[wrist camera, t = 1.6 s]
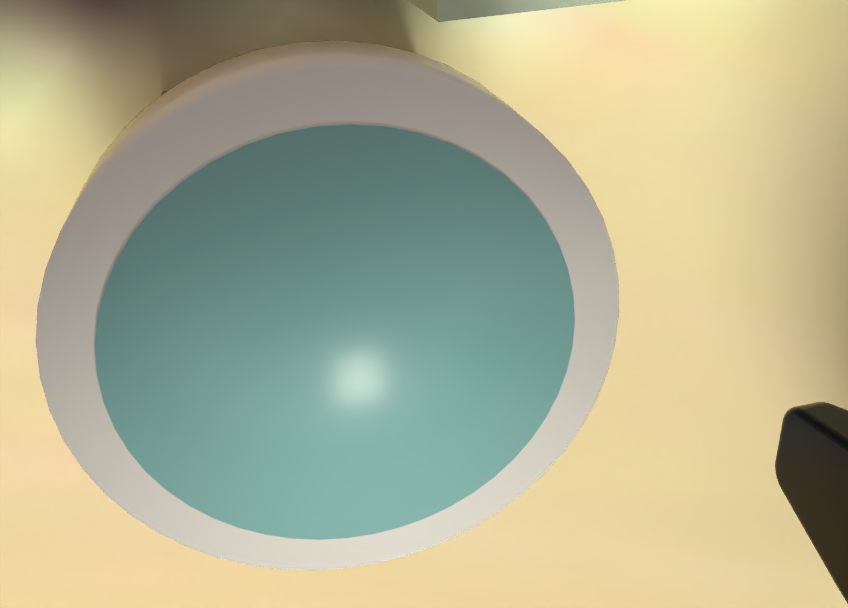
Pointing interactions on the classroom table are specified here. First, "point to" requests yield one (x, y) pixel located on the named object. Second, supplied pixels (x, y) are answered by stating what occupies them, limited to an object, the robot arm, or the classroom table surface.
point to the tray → (491, 7)
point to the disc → (325, 308)
